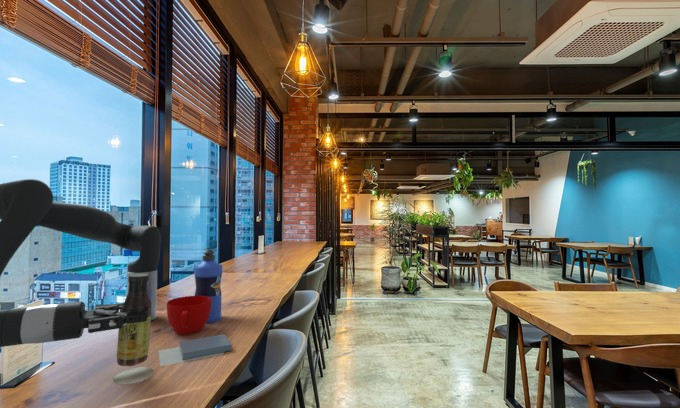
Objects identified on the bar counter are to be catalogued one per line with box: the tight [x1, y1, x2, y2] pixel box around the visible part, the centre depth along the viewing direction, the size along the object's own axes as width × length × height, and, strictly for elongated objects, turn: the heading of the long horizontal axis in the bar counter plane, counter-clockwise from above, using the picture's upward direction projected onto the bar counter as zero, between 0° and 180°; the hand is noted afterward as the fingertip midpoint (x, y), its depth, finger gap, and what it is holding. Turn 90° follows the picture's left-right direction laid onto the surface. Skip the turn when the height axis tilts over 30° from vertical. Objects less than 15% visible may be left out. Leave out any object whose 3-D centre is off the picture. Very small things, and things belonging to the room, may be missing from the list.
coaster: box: [112, 366, 155, 385], centre depth 77 cm, size 8×8×1 cm
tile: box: [178, 333, 232, 360], centre depth 92 cm, size 2×9×12 cm
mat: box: [158, 346, 225, 368], centre depth 90 cm, size 15×11×1 cm
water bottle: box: [194, 248, 223, 324], centre depth 120 cm, size 9×9×25 cm
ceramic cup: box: [166, 295, 211, 336], centre depth 105 cm, size 13×17×10 cm
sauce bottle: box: [116, 274, 152, 367], centre depth 77 cm, size 7×6×20 cm
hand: (146, 312), depth 78 cm, fingers closed on sauce bottle, 6 cm apart
